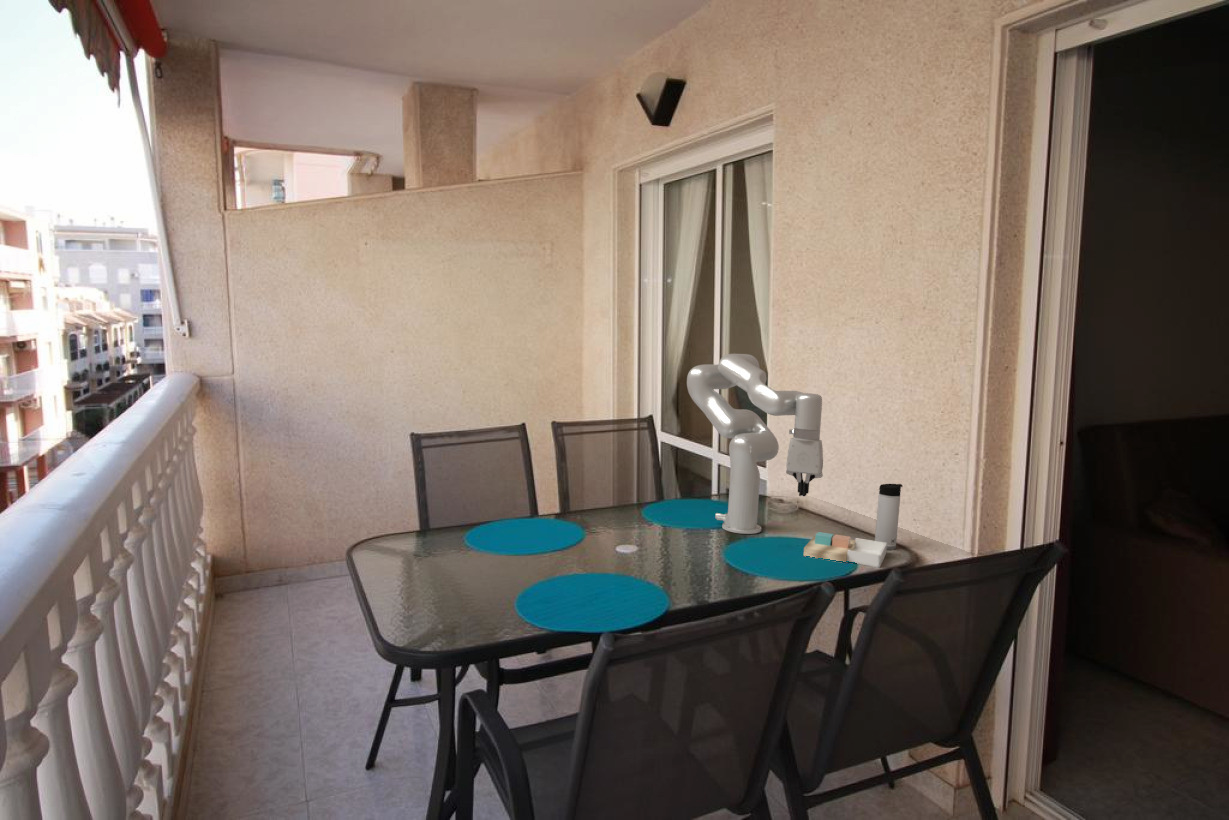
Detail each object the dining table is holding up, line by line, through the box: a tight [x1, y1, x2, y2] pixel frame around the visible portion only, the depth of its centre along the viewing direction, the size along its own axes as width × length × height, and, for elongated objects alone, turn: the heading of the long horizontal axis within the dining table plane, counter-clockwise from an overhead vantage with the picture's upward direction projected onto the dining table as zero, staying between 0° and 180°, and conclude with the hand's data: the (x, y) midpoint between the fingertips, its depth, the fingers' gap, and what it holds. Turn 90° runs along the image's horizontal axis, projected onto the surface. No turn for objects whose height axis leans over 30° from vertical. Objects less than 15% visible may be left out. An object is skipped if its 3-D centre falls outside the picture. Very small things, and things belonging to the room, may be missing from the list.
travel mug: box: [874, 483, 903, 551], centre depth 236 cm, size 6×7×20 cm
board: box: [803, 535, 855, 563], centre depth 228 cm, size 12×18×2 cm, turn 154°
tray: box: [847, 537, 887, 569], centre depth 224 cm, size 9×16×4 cm, turn 154°
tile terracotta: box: [832, 534, 852, 549], centre depth 227 cm, size 4×4×2 cm
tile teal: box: [814, 531, 835, 546], centre depth 229 cm, size 4×4×2 cm
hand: (802, 495), depth 231 cm, fingers closed
